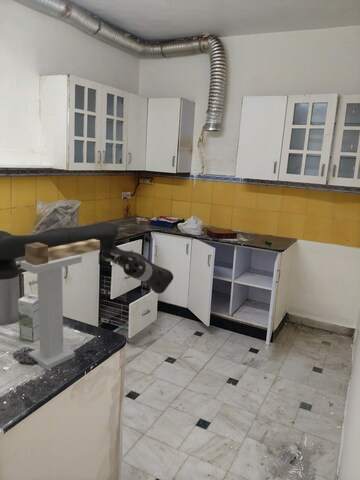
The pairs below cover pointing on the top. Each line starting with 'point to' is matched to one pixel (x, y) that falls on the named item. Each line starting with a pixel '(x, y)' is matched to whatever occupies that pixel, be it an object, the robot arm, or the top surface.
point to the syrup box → (28, 317)
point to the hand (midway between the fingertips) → (110, 254)
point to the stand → (51, 311)
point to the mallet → (58, 251)
